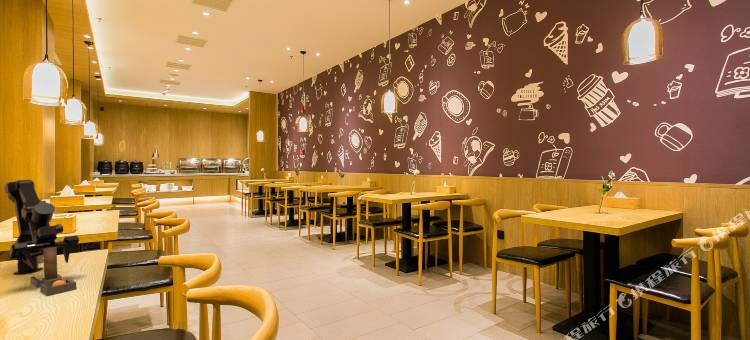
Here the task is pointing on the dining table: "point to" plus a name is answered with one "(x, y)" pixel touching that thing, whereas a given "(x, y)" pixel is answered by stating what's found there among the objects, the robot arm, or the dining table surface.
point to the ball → (58, 283)
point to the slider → (50, 266)
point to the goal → (58, 288)
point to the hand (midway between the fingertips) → (51, 265)
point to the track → (37, 281)
